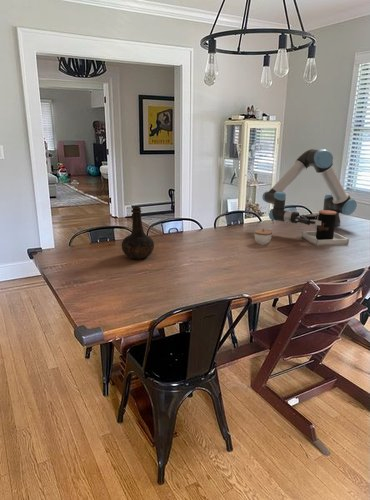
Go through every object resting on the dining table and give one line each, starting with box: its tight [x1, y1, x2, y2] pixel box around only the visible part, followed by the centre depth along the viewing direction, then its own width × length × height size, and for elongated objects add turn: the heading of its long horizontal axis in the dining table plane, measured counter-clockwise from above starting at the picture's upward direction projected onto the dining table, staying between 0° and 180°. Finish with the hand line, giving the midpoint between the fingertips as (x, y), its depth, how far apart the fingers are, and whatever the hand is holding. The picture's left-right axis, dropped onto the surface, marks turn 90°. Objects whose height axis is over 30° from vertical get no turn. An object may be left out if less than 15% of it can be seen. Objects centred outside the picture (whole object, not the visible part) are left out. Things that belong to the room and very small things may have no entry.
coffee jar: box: [316, 209, 337, 240], centre depth 238 cm, size 11×11×18 cm
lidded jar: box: [254, 228, 273, 246], centre depth 233 cm, size 11×11×9 cm
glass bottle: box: [121, 206, 155, 260], centre depth 203 cm, size 18×18×28 cm
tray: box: [301, 230, 350, 247], centre depth 241 cm, size 21×21×4 cm
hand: (324, 221), depth 238 cm, fingers open, 13 cm apart
